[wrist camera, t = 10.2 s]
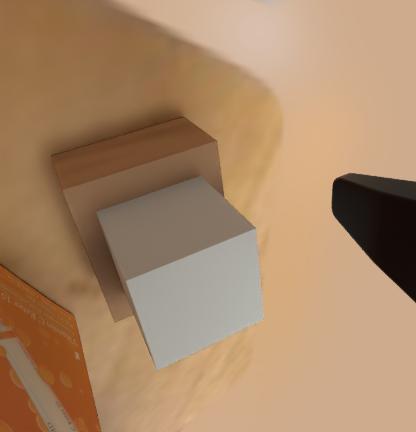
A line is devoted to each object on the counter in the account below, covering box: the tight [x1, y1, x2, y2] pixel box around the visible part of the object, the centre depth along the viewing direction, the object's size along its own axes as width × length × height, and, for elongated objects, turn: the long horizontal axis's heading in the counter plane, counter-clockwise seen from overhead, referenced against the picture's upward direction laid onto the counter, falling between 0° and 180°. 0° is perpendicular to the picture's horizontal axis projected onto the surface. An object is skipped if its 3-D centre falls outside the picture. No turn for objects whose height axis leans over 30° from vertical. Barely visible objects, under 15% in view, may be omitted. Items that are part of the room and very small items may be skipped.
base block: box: [51, 117, 224, 323], centre depth 21 cm, size 8×7×4 cm
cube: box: [96, 176, 264, 371], centre depth 17 cm, size 5×5×5 cm
